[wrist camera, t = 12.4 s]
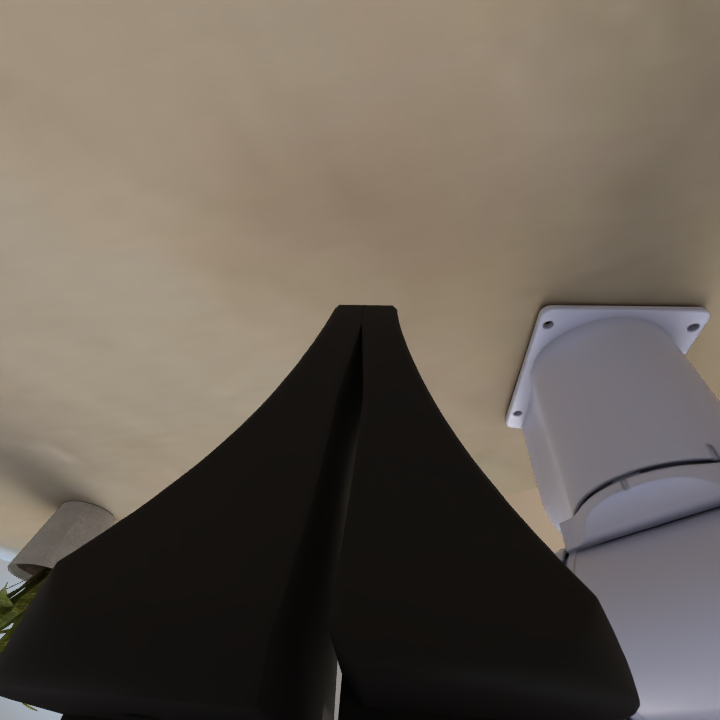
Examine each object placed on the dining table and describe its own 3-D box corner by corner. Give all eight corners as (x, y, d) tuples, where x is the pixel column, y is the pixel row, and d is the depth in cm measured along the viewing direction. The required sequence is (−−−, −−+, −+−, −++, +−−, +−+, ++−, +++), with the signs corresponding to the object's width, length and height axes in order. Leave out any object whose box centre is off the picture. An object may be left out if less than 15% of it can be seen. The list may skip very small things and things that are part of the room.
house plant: (124, 472, 36) (-16, 719, 24) (189, 542, 45) (112, 745, 33) (-15, 473, 38) (-208, 700, 26) (74, 540, 47) (-38, 730, 35)
